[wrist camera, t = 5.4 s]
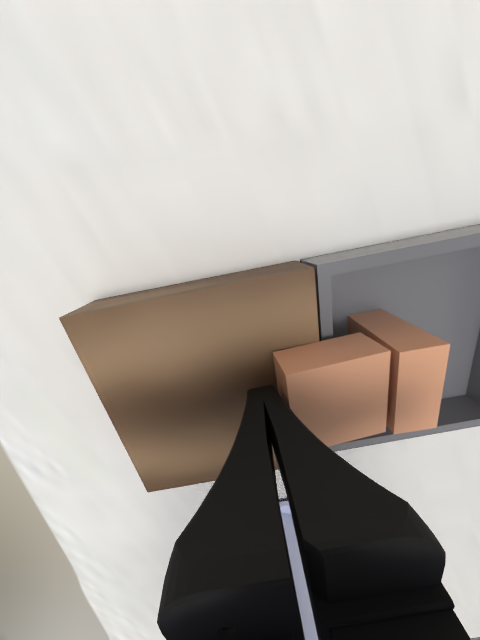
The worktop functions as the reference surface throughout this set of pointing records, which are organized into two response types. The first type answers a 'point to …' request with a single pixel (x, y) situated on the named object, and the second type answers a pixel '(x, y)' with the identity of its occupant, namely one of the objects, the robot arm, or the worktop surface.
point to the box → (413, 309)
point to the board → (191, 362)
